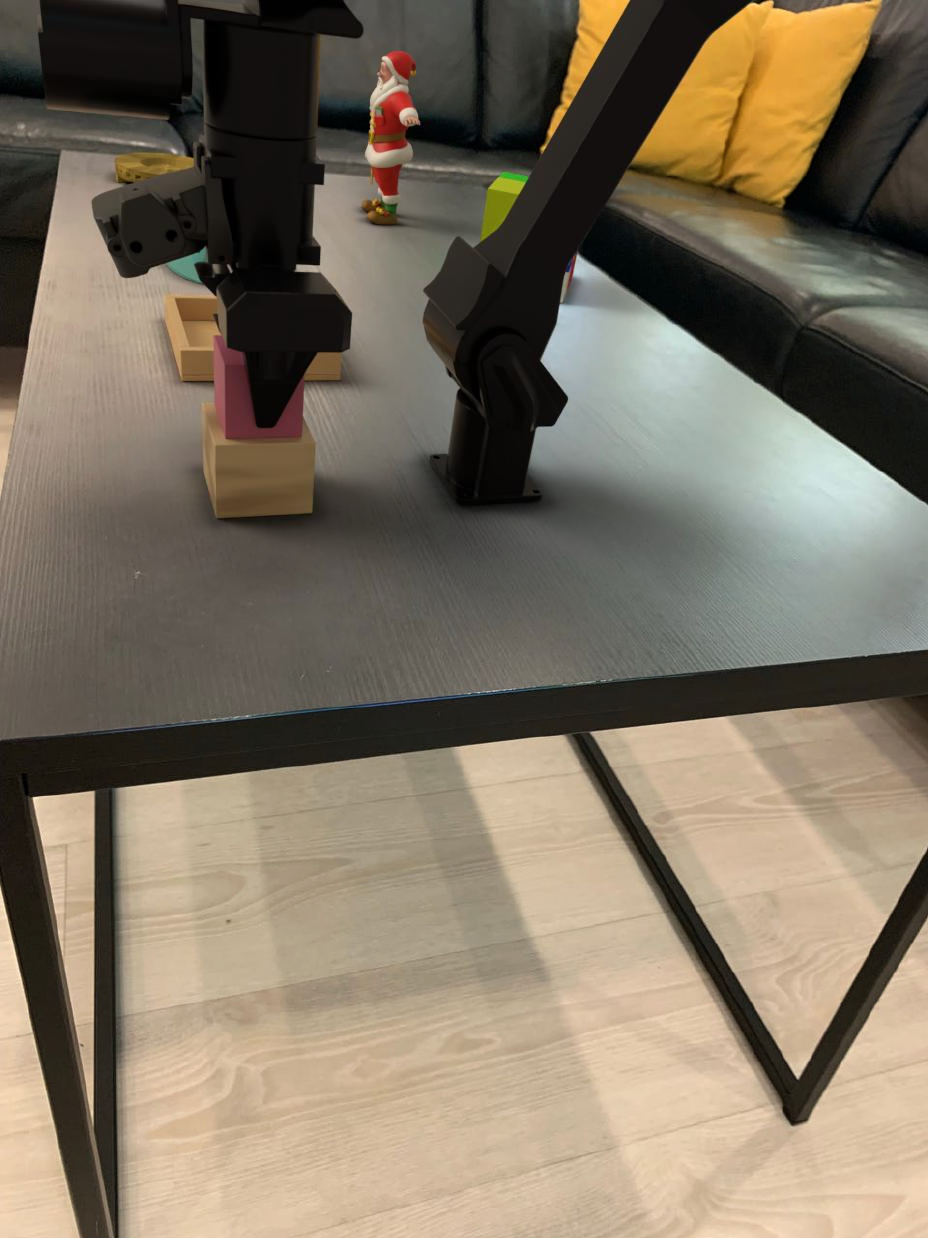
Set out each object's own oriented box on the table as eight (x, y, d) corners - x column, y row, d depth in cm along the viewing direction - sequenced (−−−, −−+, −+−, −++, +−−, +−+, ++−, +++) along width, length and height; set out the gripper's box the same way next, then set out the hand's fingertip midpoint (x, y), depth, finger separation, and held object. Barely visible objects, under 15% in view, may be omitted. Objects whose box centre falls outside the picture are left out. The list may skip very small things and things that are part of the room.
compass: (233, 188, 122) (233, 170, 121) (163, 199, 113) (163, 180, 112) (167, 166, 126) (166, 149, 125) (95, 175, 118) (93, 156, 116)
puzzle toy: (562, 303, 102) (581, 206, 97) (473, 284, 103) (487, 188, 97) (572, 278, 111) (590, 188, 105) (489, 262, 111) (503, 171, 105)
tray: (339, 380, 77) (341, 351, 76) (181, 381, 73) (180, 349, 71) (307, 324, 86) (308, 297, 85) (165, 322, 82) (164, 293, 80)
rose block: (302, 437, 57) (305, 364, 54) (225, 439, 55) (224, 365, 53) (287, 405, 60) (289, 335, 58) (214, 406, 59) (213, 334, 56)
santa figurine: (350, 191, 130) (360, 34, 119) (391, 195, 131) (405, 40, 120) (374, 244, 111) (389, 62, 100) (422, 248, 112) (442, 70, 101)
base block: (312, 513, 60) (316, 442, 57) (216, 518, 58) (214, 445, 55) (293, 468, 64) (296, 400, 61) (203, 471, 62) (201, 401, 59)
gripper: (86, 79, 52) (109, 349, 61) (103, 158, 39) (130, 490, 48) (285, 99, 56) (279, 350, 65) (365, 177, 42) (343, 481, 52)
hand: (258, 409), depth 57 cm, fingers closed on rose block, 5 cm apart
